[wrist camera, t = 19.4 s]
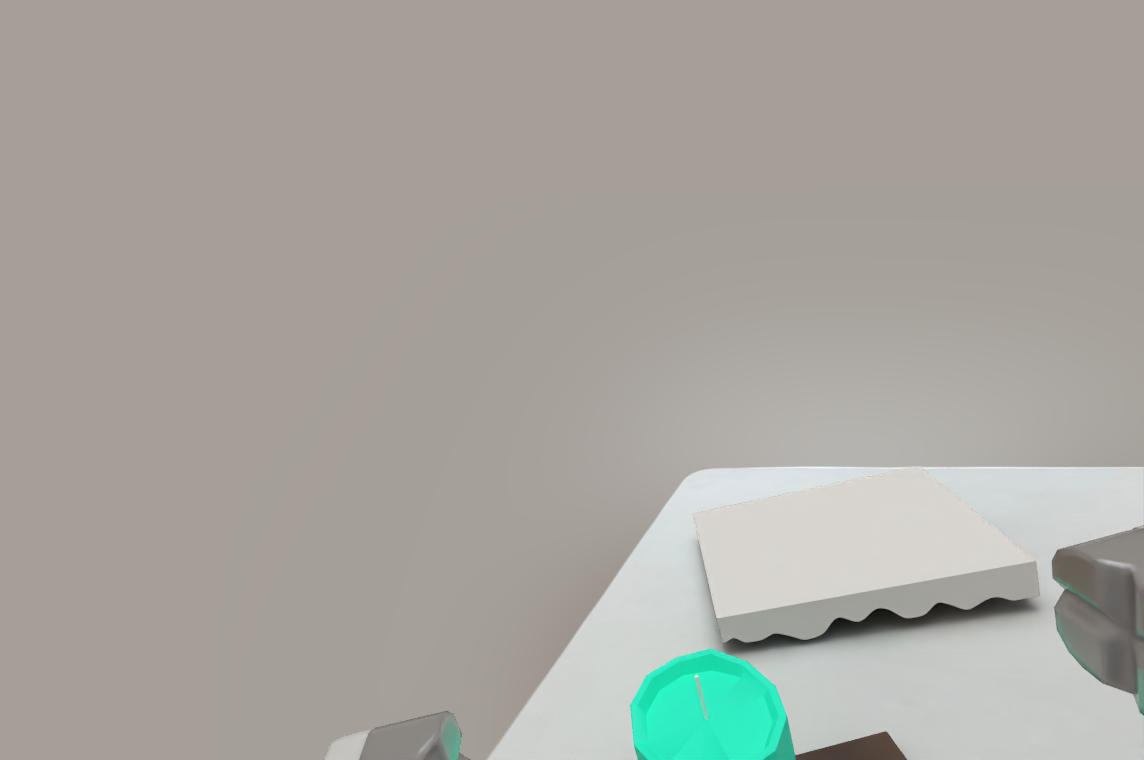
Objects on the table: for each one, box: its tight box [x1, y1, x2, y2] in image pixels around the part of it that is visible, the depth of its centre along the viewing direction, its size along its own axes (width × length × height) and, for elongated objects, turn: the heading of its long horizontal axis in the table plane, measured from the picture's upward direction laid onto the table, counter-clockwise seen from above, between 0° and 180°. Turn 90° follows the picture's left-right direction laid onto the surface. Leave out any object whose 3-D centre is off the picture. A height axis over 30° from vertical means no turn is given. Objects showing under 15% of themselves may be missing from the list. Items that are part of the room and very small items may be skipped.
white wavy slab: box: [693, 466, 1040, 643], centre depth 45 cm, size 15×3×20 cm
